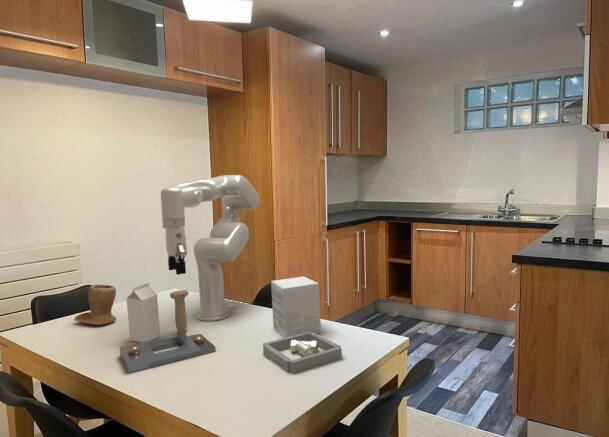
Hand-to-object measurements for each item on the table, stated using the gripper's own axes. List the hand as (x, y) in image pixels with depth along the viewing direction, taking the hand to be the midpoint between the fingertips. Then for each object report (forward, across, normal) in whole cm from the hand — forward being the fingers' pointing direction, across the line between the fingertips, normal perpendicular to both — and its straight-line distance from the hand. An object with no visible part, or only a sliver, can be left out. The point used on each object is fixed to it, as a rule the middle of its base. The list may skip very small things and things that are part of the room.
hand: (177, 271), depth 154 cm
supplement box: (+23, -23, -34) cm, 47 cm away
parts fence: (+22, -43, -24) cm, 54 cm away
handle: (+23, 0, 0) cm, 23 cm away
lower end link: (+23, -16, +6) cm, 28 cm away
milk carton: (+23, +3, +12) cm, 26 cm away
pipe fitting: (+23, -42, -25) cm, 54 cm away
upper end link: (+23, -16, +11) cm, 30 cm away
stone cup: (+23, +35, +23) cm, 48 cm away
